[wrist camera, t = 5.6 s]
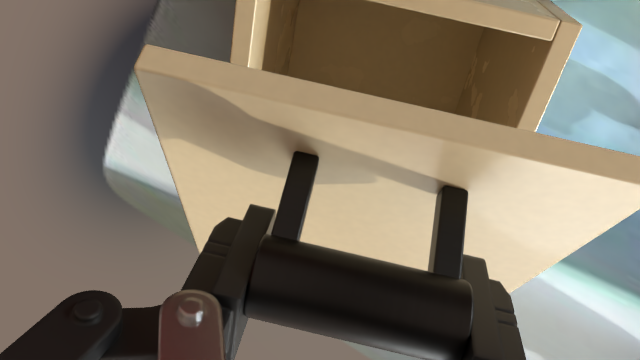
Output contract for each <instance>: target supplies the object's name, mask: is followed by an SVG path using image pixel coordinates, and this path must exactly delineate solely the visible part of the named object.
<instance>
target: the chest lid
mask: <svg viewBox="0 0 640 360" xmlns="http://www.w3.org/2000/svg"><path fill="white" fill-rule="evenodd" d="M134 71H135V73H136V76H137V79H138V82H139V85H140V88H141V90H142V93H143V96H144V99H145V102H146V104H147V107H148V110H149V113H150V116H151V119H152V121H153V124H154V127H155V130H156V133H157V135H158V138H159V141H160V144H161V147H162V150H163V152H164V155H165V158H166V161H167V164H168V166H169V169H170V172H171V175H172V178H173V181H174V183H175V186H176V189H177V192H178V195H179V197H180V200H181V203H182V206H183V209H184V212H185V214H186V217H187V220H188V223H189V226H190V228H191V231H192V234H193V237H194V240H195V243H196V245H197V248H198V251H199V254H200V253H201V252H202V250H203V248H204V246H205V244H206V242H207V241H208V238H209V236H210V234H211V232H212V231H213V229H214V227H215V226H216V225H217V224H219V223H220V222H221V221H223V220H224V219H226V218H227V217H231V218H235V219H239V220H243V218H244V216H245V214H246V212H247V210H248V207H249V205H250V204H254V205H258V206H263V207H267V208H271V209H276V216H275V221H274V225H273V228H272V232H271V234H265V235H264V236H263V237H262V239H261V241H260V243H259V246H258V248H257V251H256V254H255V258H254V261H253V265H252V268H251V272H250V276H249V280H248V285H247V290H246V295H245V301H244V315H245V316H246V317H248V318H253V319H257V320H261V321H265V322H269V323H274V324H278V325H282V326H286V327H291V328H294V329H299V330H303V331H307V332H311V333H315V334H320V335H324V336H328V337H332V338H336V339H341V340H345V341H349V342H353V343H357V344H362V345H366V346H370V347H374V348H378V349H383V350H387V351H391V352H395V353H399V354H404V355H408V356H412V357H416V358H420V359H425V360H461V359H462V357H463V355H464V353H465V350H466V348H467V345H468V342H469V339H470V335H471V331H472V325H473V317H474V296H473V290H472V287H471V285H470V283H469V282H467V281H466V280H464V279H461V275H462V263H463V254H465V255H470V256H474V257H478V258H483V259H484V260H485V262H486V266H487V271H488V276H489V279H492V280H496V281H500V282H501V284H502V285H503V287H504V288H505V289H506V291H507V292H508V294H509V293H511V292H512V291H514V290H515V289H517V288H519V287H520V286H522V285H523V284H525V283H526V282H528V281H529V280H531V279H532V278H534V277H535V276H537V275H539V274H540V273H542V272H543V271H545V270H546V269H548V268H549V267H551V266H552V265H554V264H556V263H557V262H559V261H560V260H562V259H563V258H565V257H566V256H568V255H569V254H571V253H572V252H574V251H576V250H577V249H579V248H580V247H582V246H583V245H585V244H586V243H588V242H589V241H591V240H593V239H594V238H596V237H597V236H599V235H600V234H602V233H603V232H605V231H606V230H608V229H609V228H611V227H613V226H614V225H616V224H617V223H619V222H620V221H622V220H623V219H625V218H626V217H628V216H630V215H631V214H633V213H634V212H636V211H637V210H639V209H640V156H636V155H632V154H627V153H623V152H619V151H614V150H610V149H605V148H601V147H597V146H592V145H588V144H584V143H579V142H575V141H570V140H566V139H562V138H557V137H553V136H548V135H544V134H540V133H535V132H531V131H526V130H522V129H518V128H513V127H509V126H504V125H500V124H496V123H491V122H487V121H482V120H478V119H474V118H469V117H465V116H460V115H456V114H452V113H447V112H443V111H439V110H434V109H430V108H425V107H421V106H417V105H412V104H408V103H403V102H399V101H395V100H390V99H386V98H381V97H377V96H373V95H368V94H364V93H359V92H355V91H351V90H346V89H342V88H337V87H333V86H329V85H324V84H320V83H315V82H311V81H307V80H302V79H298V78H294V77H289V76H285V75H280V74H276V73H272V72H267V71H263V70H258V69H254V68H250V67H245V66H241V65H236V64H232V63H228V62H223V61H219V60H214V59H210V58H206V57H201V56H197V55H192V54H188V53H184V52H179V51H175V50H171V49H166V48H162V47H157V46H153V45H149V44H146V45H145V46H144V47H143V49H142V51H141V53H140V55H139V57H138V59H137V61H136V63H135V65H134Z"/></svg>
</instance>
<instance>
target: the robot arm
mask: <svg viewBox="0 0 640 360" xmlns="http://www.w3.org/2000/svg"><path fill="white" fill-rule="evenodd" d="M275 216H276V209H271V208H267V207H263V206H258V205H254V204H250V205H249V207H248V210H247V212H246V214H245V216H244V218H243V220H239V219H235V218H231V217H227V218H226V219H224V220H223V221H221V222H220V223H219V224H217V225H216V226H215V227H214V229H213V231H212V232H211V234H210V236H209V238H208V241H207V242H206V244H205V246H204V248H203V250H202V252H201V253H200V255H199V257H198V259H197V261H196V263H195V265H194V267H193V269H192V271H191V272H190V274H189V276H188V278H187V280H186V282H185V284H184V286H183V287H182V289H181V291H179V292H177V293H175V294H172V295H171V296H169V297H168V298H167V299H166V300H165V301H164V302H163V304H162V305H158V306H154V307H146V308H122V306H121V303H120V302H119V300H118V299H117V298H116V297H115V296H113V295H112V294H110V293H107V292H103V291H95V290H94V291H84V292H80V293H77V294H74V295H72V296H70V297H68V298H66V299H65V300H64V301H62V302H61V303H60V304H59V305H57V306H56V307H55V308H54V309H53V310H52V311H50V312H49V313H48V314H47V315H46V316H44V317H43V318H42V319H41V320H40V321H39V322H37V323H36V324H35V325H34V326H33V327H31V328H30V329H29V330H28V331H27V332H25V333H24V334H23V335H22V336H21V337H20V338H18V339H17V340H16V341H15V342H14V343H12V344H11V345H10V346H9V347H8V348H6V349H5V350H4V351H3V352H2V353H1V354H0V360H234V358H235V355H236V353H237V350H238V347H239V344H240V341H241V338H242V335H243V332H244V329H245V327H246V324H247V321H248V317H246V316H245V315H244V301H245V295H246V290H247V285H248V280H249V276H250V272H251V268H252V265H253V261H254V258H255V254H256V251H257V248H258V246H259V243H260V241H261V239H262V237H263V236H264V235H265V234H271V232H272V228H273V225H274V221H275ZM461 279H464V280H466V281H467V282H469V283H470V285H471V287H472V290H473V296H474V317H473V325H472V331H471V335H470V339H469V342H468V345H467V348H466V350H465V353H464V355H463V357H462V359H461V360H526V357H525V353H524V349H523V345H522V341H521V337H520V333H519V329H518V327H517V321H516V317H515V315H514V309H513V304H512V300H511V296H510V295H509V294H508V292H507V291H506V289H505V288H504V287H503V285H502V284H501V282H500V281H496V280H492V279H489V276H488V271H487V266H486V262H485V260H484V259H483V258H478V257H474V256H470V255H465V254H463V263H462V275H461Z"/></svg>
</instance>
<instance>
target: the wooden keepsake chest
mask: <svg viewBox="0 0 640 360" xmlns="http://www.w3.org/2000/svg"><path fill="white" fill-rule="evenodd" d="M581 29H582V25H581V24H580V23H579V22H577V21H576V20H575V19H574V18H572V17H571V16H570V15H568V14H567V13H566V12H564V11H563V10H562V9H560V8H559V7H558V6H556V5H555V4H554V3H553V2H551V1H550V0H236V5H235V16H234V26H233V36H232V46H231V56H230V63H232V64H236V65H241V66H245V67H250V68H254V69H258V70H263V71H267V72H272V73H276V74H280V75H285V76H289V77H294V78H298V79H302V80H307V81H311V82H315V83H320V84H324V85H329V86H333V87H337V88H342V89H346V90H351V91H355V92H359V93H364V94H368V95H373V96H377V97H381V98H386V99H390V100H395V101H399V102H403V103H408V104H412V105H417V106H421V107H425V108H430V109H434V110H439V111H443V112H447V113H452V114H456V115H460V116H465V117H469V118H474V119H478V120H482V121H487V122H491V123H496V124H500V125H504V126H509V127H513V128H518V129H522V130H526V131H531V132H536V130H537V128H538V125H539V123H540V121H541V119H542V116H543V114H544V112H545V110H546V107H547V105H548V103H549V101H550V98H551V96H552V94H553V92H554V89H555V87H556V85H557V83H558V80H559V78H560V76H561V74H562V71H563V69H564V67H565V65H566V62H567V60H568V58H569V56H570V53H571V51H572V49H573V47H574V44H575V42H576V40H577V38H578V35H579V33H580V31H581Z"/></svg>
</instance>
